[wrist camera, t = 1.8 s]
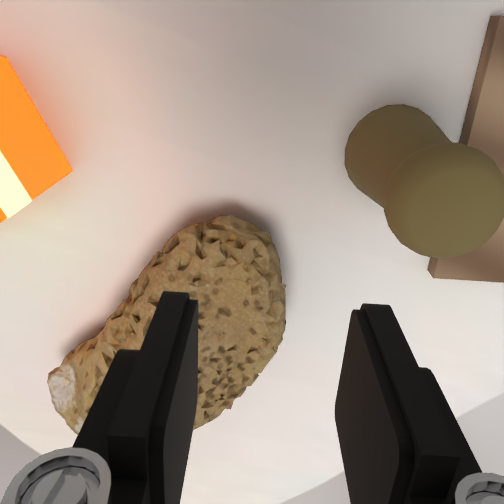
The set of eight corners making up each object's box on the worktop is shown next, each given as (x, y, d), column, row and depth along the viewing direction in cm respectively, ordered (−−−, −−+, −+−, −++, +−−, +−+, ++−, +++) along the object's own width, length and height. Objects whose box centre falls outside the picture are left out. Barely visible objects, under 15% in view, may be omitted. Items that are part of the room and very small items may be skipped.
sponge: (152, 417, 41) (353, 344, 32) (101, 489, 34) (338, 423, 25) (63, 296, 39) (254, 182, 30) (-11, 348, 32) (207, 220, 23)
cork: (351, 207, 31) (392, 290, 21) (337, 116, 28) (377, 161, 19) (443, 188, 30) (531, 264, 20) (438, 93, 28) (535, 127, 18)
